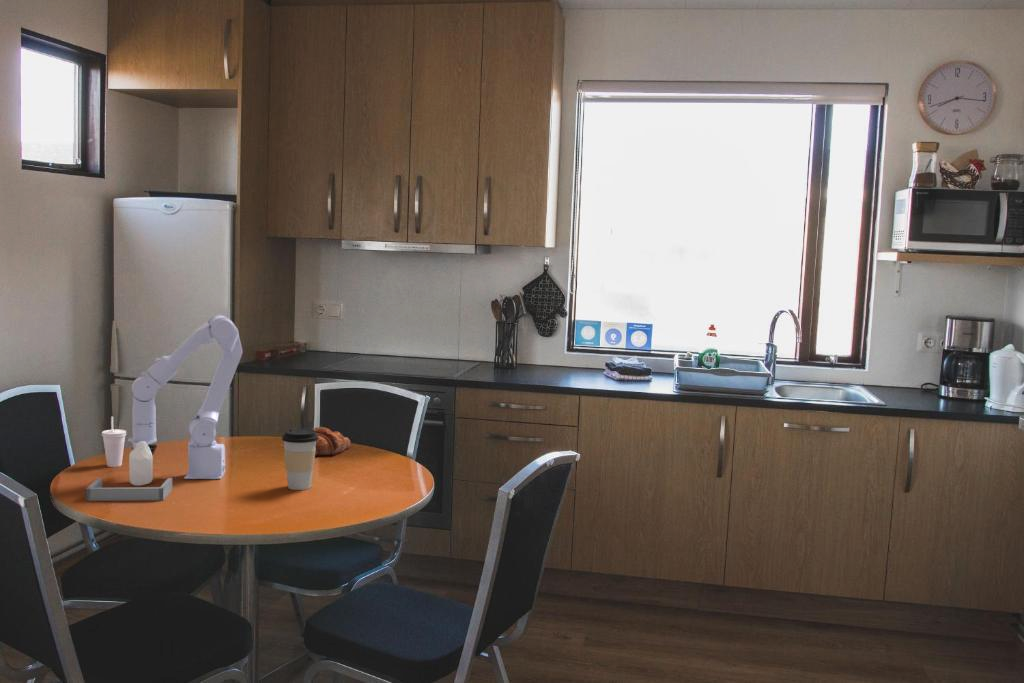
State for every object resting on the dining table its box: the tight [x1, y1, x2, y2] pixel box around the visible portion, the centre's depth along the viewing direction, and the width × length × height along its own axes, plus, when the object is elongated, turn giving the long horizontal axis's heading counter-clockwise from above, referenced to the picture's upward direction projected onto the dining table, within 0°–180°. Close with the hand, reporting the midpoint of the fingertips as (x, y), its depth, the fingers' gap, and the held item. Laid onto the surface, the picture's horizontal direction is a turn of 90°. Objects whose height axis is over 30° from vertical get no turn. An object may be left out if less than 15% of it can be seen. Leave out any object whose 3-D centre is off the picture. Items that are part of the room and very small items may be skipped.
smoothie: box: [101, 416, 127, 468], centre depth 254 cm, size 6×6×14 cm
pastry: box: [312, 426, 352, 458], centre depth 280 cm, size 17×15×8 cm
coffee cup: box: [281, 427, 319, 491], centre depth 239 cm, size 9×9×15 cm
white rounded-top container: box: [128, 441, 154, 487], centre depth 236 cm, size 6×12×6 cm
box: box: [85, 477, 173, 502], centre depth 227 cm, size 18×10×3 cm, turn 98°
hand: (144, 472), depth 241 cm, fingers closed
